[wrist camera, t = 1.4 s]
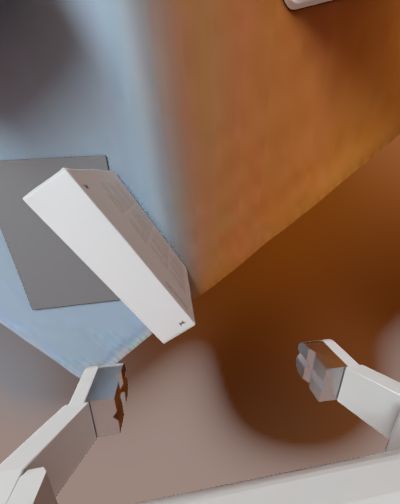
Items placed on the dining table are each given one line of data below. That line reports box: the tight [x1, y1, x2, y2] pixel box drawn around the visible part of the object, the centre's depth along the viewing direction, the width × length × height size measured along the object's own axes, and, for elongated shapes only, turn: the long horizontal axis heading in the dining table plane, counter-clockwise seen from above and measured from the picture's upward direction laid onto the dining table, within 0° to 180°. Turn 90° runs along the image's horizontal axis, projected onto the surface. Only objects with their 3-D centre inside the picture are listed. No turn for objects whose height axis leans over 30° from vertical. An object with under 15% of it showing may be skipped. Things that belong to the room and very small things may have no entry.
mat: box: [0, 156, 120, 310], centre depth 35 cm, size 18×25×1 cm
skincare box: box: [23, 167, 195, 343], centre depth 29 cm, size 21×6×16 cm, turn 33°
